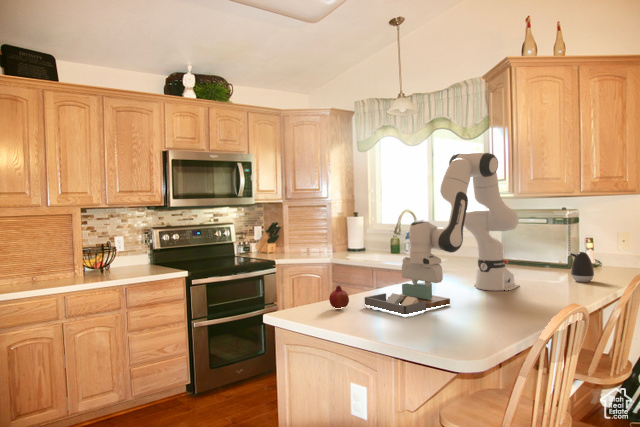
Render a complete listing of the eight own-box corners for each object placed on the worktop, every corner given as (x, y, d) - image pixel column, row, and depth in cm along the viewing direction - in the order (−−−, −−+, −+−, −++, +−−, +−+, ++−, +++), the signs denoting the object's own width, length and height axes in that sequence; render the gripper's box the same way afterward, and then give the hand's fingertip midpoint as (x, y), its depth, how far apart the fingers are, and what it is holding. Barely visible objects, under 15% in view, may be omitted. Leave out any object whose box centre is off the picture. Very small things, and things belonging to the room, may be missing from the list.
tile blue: (394, 296, 188) (392, 293, 187) (403, 298, 184) (401, 294, 183) (387, 304, 186) (385, 301, 185) (396, 306, 182) (394, 303, 181)
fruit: (351, 311, 179) (350, 286, 179) (331, 312, 178) (330, 288, 178) (346, 306, 187) (346, 283, 187) (328, 308, 186) (327, 284, 186)
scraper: (416, 291, 196) (416, 280, 196) (441, 296, 185) (441, 284, 185) (402, 294, 191) (401, 283, 191) (427, 299, 180) (426, 287, 180)
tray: (385, 303, 191) (384, 293, 191) (426, 312, 173) (425, 301, 173) (364, 307, 185) (364, 297, 185) (405, 318, 166) (404, 306, 166)
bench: (414, 298, 200) (413, 291, 200) (450, 305, 183) (449, 298, 183) (388, 303, 190) (388, 296, 190) (423, 312, 174) (423, 304, 174)
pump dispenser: (571, 279, 234) (571, 250, 234) (595, 280, 228) (594, 251, 227) (569, 282, 226) (568, 252, 225) (593, 283, 219) (592, 253, 219)
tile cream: (409, 299, 181) (407, 296, 180) (418, 301, 177) (416, 298, 176) (402, 308, 179) (400, 304, 178) (411, 310, 175) (409, 306, 174)
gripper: (397, 257, 194) (398, 288, 195) (434, 261, 178) (435, 295, 178) (407, 255, 198) (408, 286, 198) (444, 259, 181) (445, 293, 182)
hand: (421, 290), depth 188 cm, fingers closed on scraper, 3 cm apart
